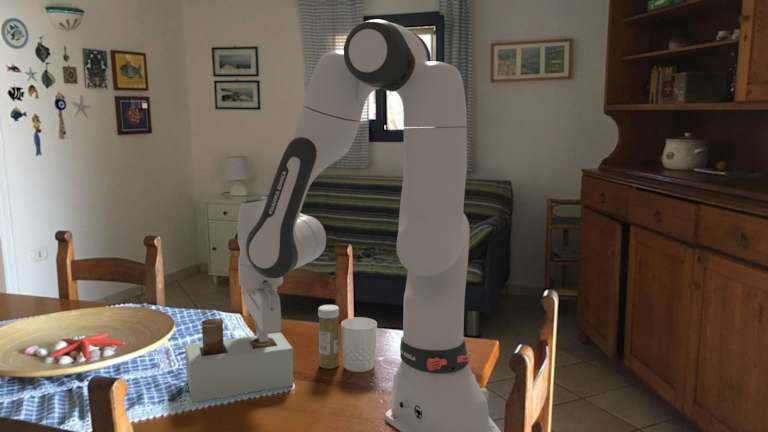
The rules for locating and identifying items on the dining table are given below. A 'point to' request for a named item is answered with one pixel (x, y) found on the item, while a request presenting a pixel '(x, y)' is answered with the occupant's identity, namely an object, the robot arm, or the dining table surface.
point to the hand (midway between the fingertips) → (262, 340)
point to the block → (238, 368)
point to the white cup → (359, 343)
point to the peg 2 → (262, 345)
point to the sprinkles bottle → (328, 336)
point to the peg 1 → (212, 336)
